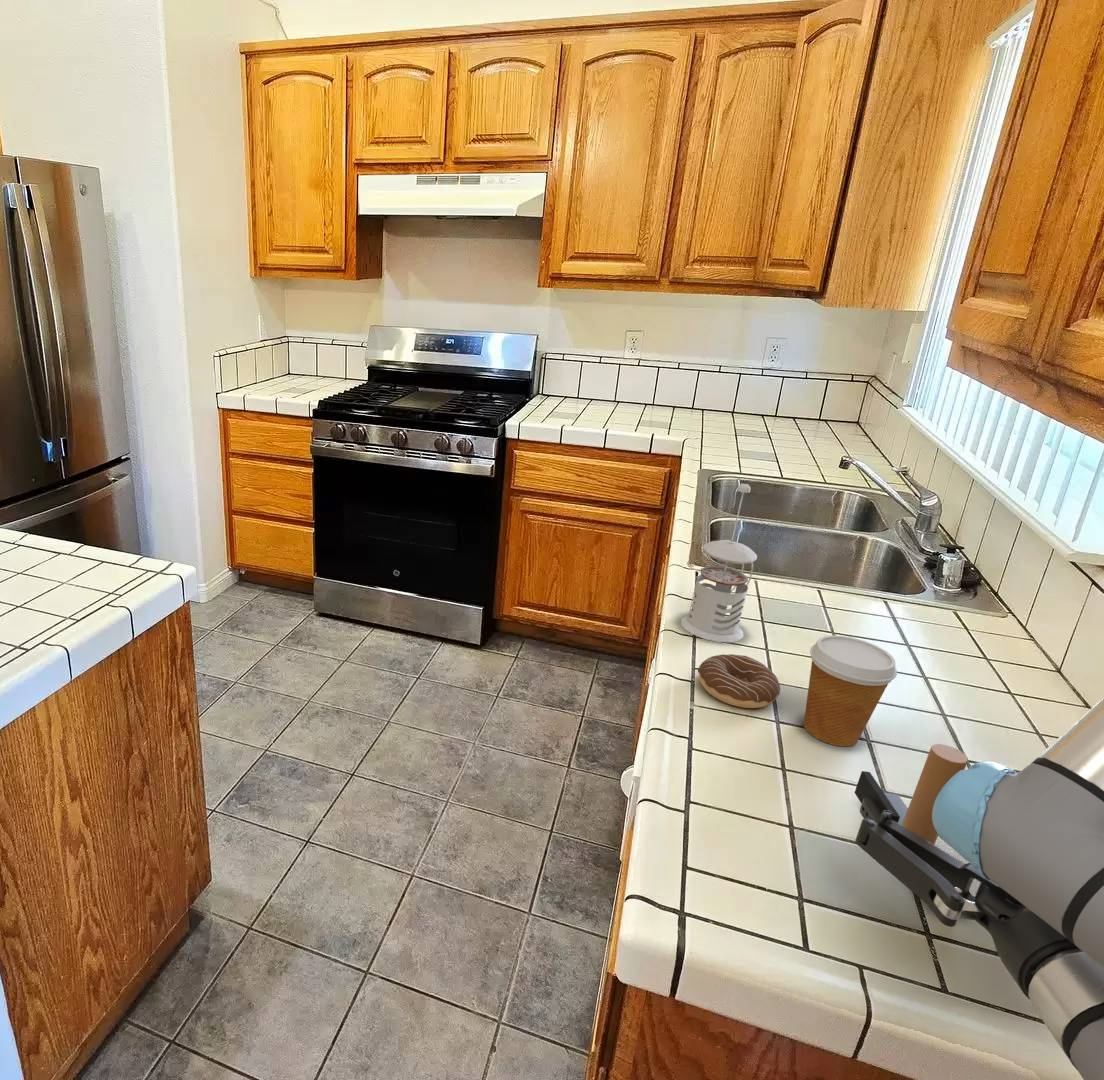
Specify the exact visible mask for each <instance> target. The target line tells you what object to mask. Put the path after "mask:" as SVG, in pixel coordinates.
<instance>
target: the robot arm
mask: <svg viewBox="0 0 1104 1080" xmlns="http://www.w3.org/2000/svg"><path fill="white" fill-rule="evenodd" d="M884 793H885V792H884V791H883V789H882V787H881V786H880V785H879V783H878V781H876V779H875V777H874V776H873V775H872V773H871V772H870V771H867V770H861V772H860V775H859V778H858V781H857V785H856V786H855V790H854V794H855V796H856V798H857V799H858V800H859V802H860V804H861V805H860V807H859V813H860V815H861V816H862V818H863V819H862V820H861V823H860V826H859V827H858V831H857V834H856V837H855V840H854V842H855V844H856V845H857V846H858V847H859V848H860V849H862V850H863V852H865V853H866V854H867V855H869V857H871V858H872V859H873V860H874V861H875V862H877V863H878V864H879V865H880V866H881V867H883V868H884V869H885V870H886V871H888V872H889V873H890V874H891V876H892V875H893V877H895V879H897V881H899V882H900V883H901V884H902V885H904V886H905V887H906V888H907V889H909V890H910V891H911V892H912V893H913V894H914V895H916V896H917V897H918V898H919V899H920V900H922V901H923V902H924V903H925V904H926V905H927V906H928V908H929V909H930V910H931V912H932V913H933V915H934V916H935V917H936V918H937V919H938V921H939V922H940V923H941V924H943V925H945V926H946V927H951V928H953V927H955V926H956V925H957V922H958V920H969V921H975V922H976V923H977V924H978V925H979V926H981V927H982V928H983V929H985V930H986V931H987V932H988V933H989V935H990V936H991V938H992V940H993V941H992V942H993V944H994V947H995V950H996V953H997V955H998V957H999V960H1000V961H1001V962H1002V964H1003V966H1004V967H1005V968H1006V970H1007V971H1008V973H1009V975H1010V976H1011V977H1012V979H1013V980H1014V982H1015V983H1016V985H1017V986H1018V988H1019V989H1020V991H1021V992H1022V994H1023V995H1024V996H1025V997H1026V998H1027V999H1028V1000H1029V1001H1030V1004H1031V1006H1032V1007H1033V1009H1034V1010H1035V1012H1036V1013H1037V1014H1038V1016H1039V1017H1040V1019H1041V1021H1042V1022H1043V1023H1044V1025H1045V1027H1046V1028H1047V1029H1048V1031H1049V1032H1050V1033H1051V1035H1052V1037H1053V1038H1054V1040H1055V1041H1056V1042H1057V1045H1059V1047H1060V1048H1061V1050H1062V1052H1064V1054H1065V1056H1066V1057H1067V1059H1068V1060H1069V1062H1070V1063H1071V1065H1072V1066H1073V1067H1074V1068H1075V1070H1076V1071H1077V1072H1078V1073H1079V1075H1080V1076H1081V1078H1082V1079H1083V1080H1104V696H1103V697H1102V698H1101V699H1100V700H1099V701H1098V702H1096V703H1095V704H1094V705H1093V706H1092V707H1091V708H1090V709H1089V710H1088V711H1087V712H1085V713H1084V714H1083V715H1082V716H1081V717H1080V718H1079V719H1078V720H1077V721H1076V722H1075V723H1073V724H1072V725H1071V726H1070V727H1069V728H1068V729H1067V730H1065V732H1064V733H1062V734H1061V735H1060V736H1059V737H1058V738H1057V739H1056V740H1055V741H1054V742H1053V743H1051V745H1049V746H1048V747H1047V748H1046V749H1044V751H1042V753H1040V754H1039V755H1038V756H1037V757H1036V758H1034V760H1033V761H1032V762H1030V764H1028V765H1027V766H1025V767H1024V768H1023V769H1022V770H1020V771H1019V772H1017V771H1016V770H1015V769H1014V768H1010V767H1006V766H1004V765H1003V764H1001V763H999V762H994V761H978V762H975V763H974V764H971V765H970V766H969V768H967V769H965V770H961V771H959V772H958V773H956V774H955V775H954V776H953V777H952V778H951V779H950V780H949V781H948V782H947V783H946V784H945V785H944V787H943V788H942V790H941V791H940V793H939V794H938V796H937V798H936V800H935V803H934V806H933V811H932V821H933V825H934V828H935V830H936V831H937V835H938V838H940V839H941V840H942V841H943V842H944V843H945V844H946V845H948V846H949V847H950V848H951V849H952V850H953V851H955V852H956V853H957V854H958V855H960V856H961V857H962V858H963V859H964V860H965V861H966V863H965V862H963V861H962V860H960V859H958V858H957V857H955V856H953V855H952V854H950V853H949V852H947V851H945V850H944V849H942V848H940V847H939V846H937V845H933V844H932V843H930V842H928V841H927V840H925V839H924V838H922V837H920V836H919V835H917V834H915V833H914V832H912V831H910V830H909V829H907V828H905V827H904V826H902V825H900V824H899V823H898V821H899V819H900V816H899V815H898V813H897V812H896V810H895V809H894V807H893V806H892V804H891V803H890V801H889V800H888V798H887V797H886V795H885V794H884ZM967 862H968V863H967ZM974 879H975V880H976V881H977V882H980V884H979V886H978V888H977V890H976V894H975V895H973V894H972V893H971V892H970V888H971V886H972V884H973V882H974Z"/></svg>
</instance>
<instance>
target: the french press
mask: <svg viewBox="0 0 1104 1080" xmlns="http://www.w3.org/2000/svg"><path fill="white" fill-rule="evenodd" d="M751 489H752V488H751V486H750V485H749V484H748V483H740V484H739V485H738V486H737V489H736V491H737V492H740V493H741V496H740V500H739V504H738V509H737V513H736V517H735V522H734V527H733V531H732V536H731V539H720V540H712V541H709V542H705V544H703V545H702V551H703V552H704V553H705V554H706V555H707V556H708V557H710V558H712V559H715V560H717V561H721V562H723V563H724V562H725V566H720V565H707V566H703V567H702V568H700V574H699V575H698V576H697V577H696V579H695V585H694V589H693V593H692V599H691V603H690V607H689V612H688V615H685V616H684V617H682V618H681V620H680V625H681V626H682V628H683V629H684V630H685V631H687V632H688V633H689V634H691V635H693V636H696V637H699V638H701V639H703V640H706V641H707V640H708V641H711V642H717V643H735V642H739V641H741V640H742V639H743V638H744V631H743V630H742V629H741V627H740V623H741V618H742V615H743V613H742V612H743V611H744V604H745V602H746V597H747V594H748V590H749V584H750V583H751V580H752V576H753V572H754V562H755V561H756V560H758V554H756V553H755V552H754V551H753V549H751V547H749V546H747V545H745V544H743V543H742V542H741V543H740V542H737V541H734V538H735V532H736V529H737V523H738V520H739V515H740V511H741V507H742V503H743V498H744V494H748V493H751ZM729 563H730V564H736V565H737V564H738V565H741V570H740V571H739V570H737V569H733V568H729V567H728V564H729ZM747 564H751V565H750V566H751V571H750V574H749V578H748V576H747V575H745V574H744V573H743V572H744V569H745V565H747ZM704 580H707V581H709V582H713V583H715V585H714V584H712V583H707V582H702V581H704ZM701 582H702V583H701ZM732 587H733V588H732ZM734 590H735V592H734V593H732V592H733V591H734ZM729 606H731V608H728V607H729ZM726 614H729V615H727V616H726Z"/></svg>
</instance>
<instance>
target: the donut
mask: <svg viewBox="0 0 1104 1080" xmlns="http://www.w3.org/2000/svg"><path fill="white" fill-rule="evenodd" d="M697 673H698V679H699V682H700V684H701V686H702V687H703V689H704V690H705V691H706V692H707V693H708V694H709V695H710V696H711V697H714V698H715V699H717V700H719V701H721V702H723V703H725V704H728V705H731V706H734V707H739V708H745V709H759V708H764V707H766V706H769V705H770V704H772V703H774V702H775V701H776V699H778V696H780V693H781V685H780V682H779V679H778V677H777V675H776V674H775V673H774V672H773V671H772V670H771V669H770V668H769V667H767V665H765V664H764V663H763V662H762V661H761V662H760V661H759V660H757V659H755V658H752V657H750V656H747V655H742V654H741V655H740V654H731V653H730V654H725V653H724V654H716V655H713V656H709V657H707V658H706V659H705V660H704V661H702V662H701V664H700V665H699V666H698V669H697Z"/></svg>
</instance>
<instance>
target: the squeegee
mask: <svg viewBox="0 0 1104 1080" xmlns="http://www.w3.org/2000/svg"><path fill="white" fill-rule="evenodd" d="M968 762H969V758H968V756H967V755H966V754H965V753H964V752H963V751H961V750H959V749H958V748H956V747H953V746H951V745H947V744H942V743H934V744H932V745H931V747H930V749H929V752H928V754H927V757H926V760H925V762H924V765H923V768H922V771H921V773H920V776H919V779H918V781H917V783H916V786H915V789H914V791H913V795H912V797H911V800H910V803H909V805H908V807H907V805H906V804H905V802H904V801H903V799H902V798H901V796H900V795H899V794H898V793H890V792H884V794H885V795H886V797H887V798H888V800H889V801H890V803H891V804H892V806H893V807H894V809H895V810H896V812H897V813H898V815H899V816H900V819H899V821H898V823H899V824H900V825H902V826H904V827H905V828H907V829H909V830H910V831H912V832H914V833H915V834H917V835H919V836H920V837H922V838H924V839H925V840H927V841H928V842H930V843H932V844H933V845H935V844H936V842H937V840H938V838H939V836H938V835H937V831H936V830H935V828H934V825H933V821H932V811H933V806H934V803H935V800H936V798H937V796H938V794H939V793H940V791H941V790H942V788H943V787H944V785H945V784H946V783H947V782H948V781H949V780H950V779H951V778H952V777H953V776H954V775H955V774H956V773H958V772H959V771H961V770H966V767H967V765H968ZM935 846H936V845H935Z"/></svg>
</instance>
